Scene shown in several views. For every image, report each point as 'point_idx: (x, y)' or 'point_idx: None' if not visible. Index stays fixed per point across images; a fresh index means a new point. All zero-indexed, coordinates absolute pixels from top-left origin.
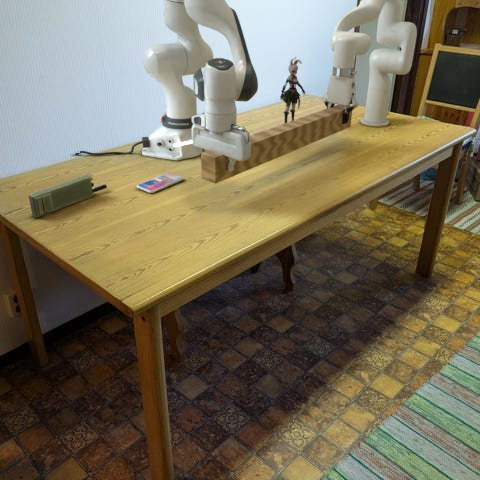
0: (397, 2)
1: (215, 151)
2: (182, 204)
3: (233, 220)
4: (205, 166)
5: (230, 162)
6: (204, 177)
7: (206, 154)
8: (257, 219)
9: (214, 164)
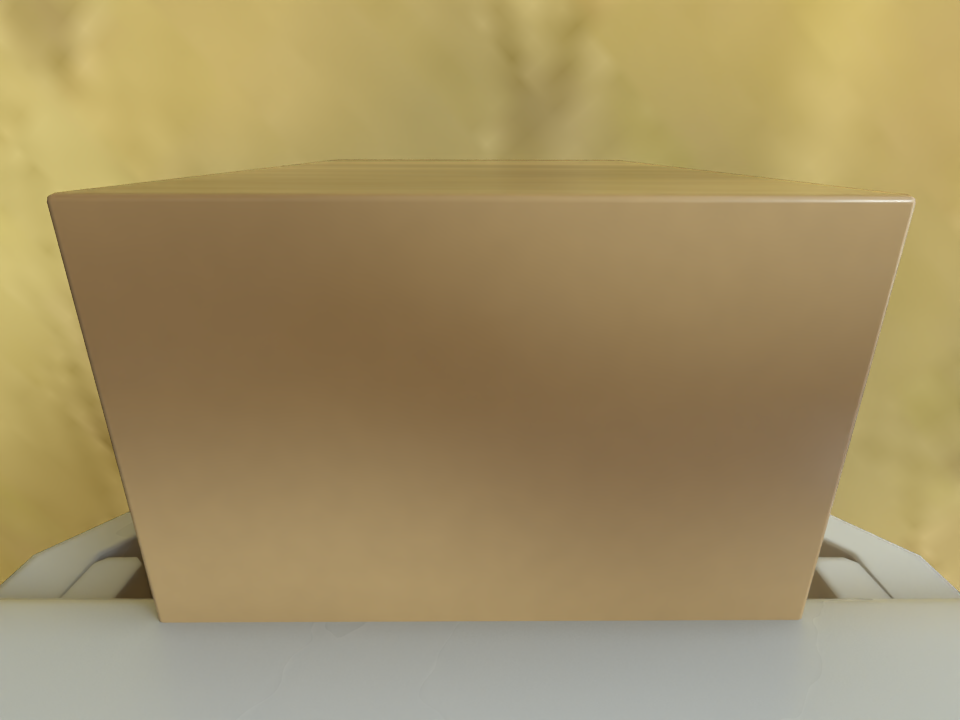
0: None
1: (531, 629)
2: (713, 23)
3: (139, 107)
4: (568, 170)
5: (113, 535)
6: (565, 161)
7: (598, 219)
8: (39, 262)
9: (225, 174)
